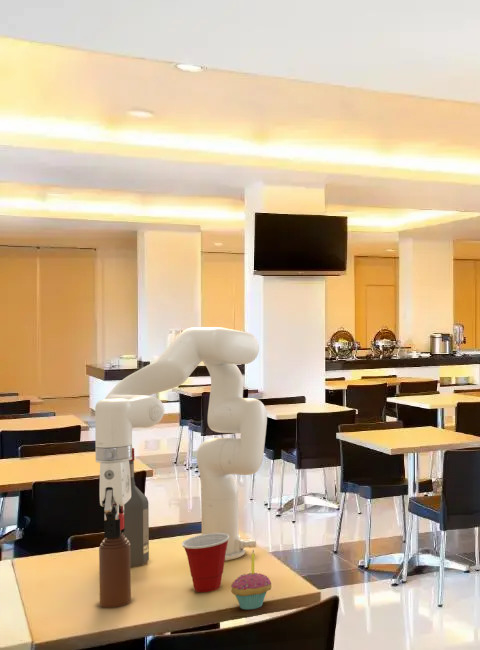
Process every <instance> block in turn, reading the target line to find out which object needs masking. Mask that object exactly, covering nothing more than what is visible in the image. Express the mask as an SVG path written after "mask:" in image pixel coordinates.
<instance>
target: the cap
mask: <svg viewBox="0 0 480 650" xmlns="http://www.w3.org/2000/svg"><path fill="white" fill-rule="evenodd" d="M119 519H120V530H122V529H124V514H123V513H119Z"/></svg>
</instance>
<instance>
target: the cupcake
mask: <svg viewBox="0 0 480 650" xmlns="http://www.w3.org/2000/svg"><path fill="white" fill-rule="evenodd" d="M255 555H256V553H255V549H253V550H252V552H251V562H250V563H251V564H250V565H251V566H250V572H249V573H243V574H242V575H239V576H238V577H237V578H236V579H235V580H234V581H233V582H232V584H231V589H230V591H231V593H232V594H233V595H234V596H235V598H236V600H237V602H238V605H239V608H240V609H242V610H246V611H247V610H256V609H259V608H261V607H262V606H263V603H264V600H265V598H266V595H267V593H268V591H270V590H271V589H272V581H271V579H270V578H269V576H267V575H265V574H263V573H257V572H255V563H256V562H255V561H256V559H255Z"/></svg>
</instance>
